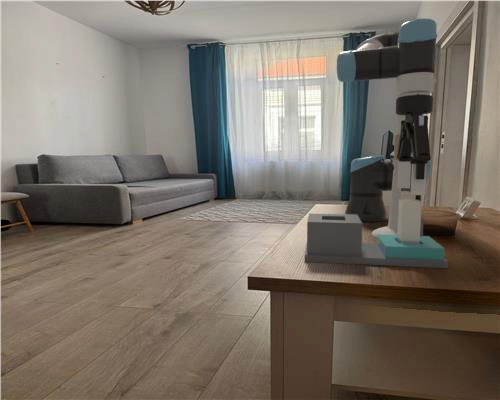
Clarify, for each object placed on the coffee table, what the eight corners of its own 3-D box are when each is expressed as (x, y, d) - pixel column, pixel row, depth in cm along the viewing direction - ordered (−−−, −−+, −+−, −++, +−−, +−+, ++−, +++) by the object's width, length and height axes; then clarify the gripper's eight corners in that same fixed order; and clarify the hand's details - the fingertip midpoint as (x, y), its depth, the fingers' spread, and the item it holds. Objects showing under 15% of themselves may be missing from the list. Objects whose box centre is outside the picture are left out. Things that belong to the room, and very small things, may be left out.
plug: (400, 253, 83) (402, 201, 82) (396, 248, 87) (398, 199, 85) (422, 254, 82) (425, 201, 81) (418, 249, 86) (420, 199, 85)
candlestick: (391, 242, 99) (395, 131, 95) (362, 233, 111) (365, 134, 107) (428, 239, 103) (434, 131, 100) (396, 230, 115) (400, 134, 112)
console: (304, 261, 83) (304, 222, 81) (307, 246, 96) (307, 212, 95) (447, 268, 77) (450, 226, 76) (428, 251, 90) (430, 215, 89)
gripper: (452, 85, 67) (445, 198, 70) (418, 102, 92) (414, 185, 95) (409, 87, 69) (404, 198, 72) (386, 103, 93) (384, 185, 96)
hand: (410, 191), depth 83 cm, fingers open, 13 cm apart
